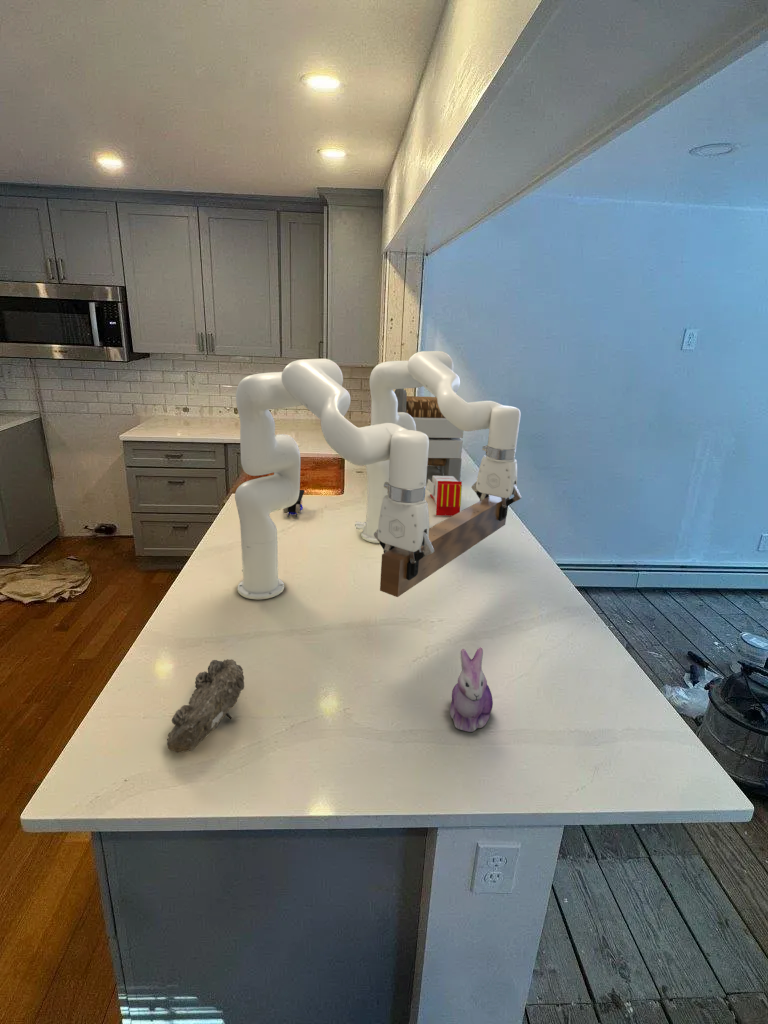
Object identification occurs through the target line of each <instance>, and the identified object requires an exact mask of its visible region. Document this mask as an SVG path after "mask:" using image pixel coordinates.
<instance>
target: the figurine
mask: <svg viewBox="0 0 768 1024" xmlns="http://www.w3.org/2000/svg"><path fill="white" fill-rule="evenodd" d="M459 655H460V666H461V667H460V668H461V671H460V673H459V675H458V678H457V682H456V684H455V685H454V686H453V688H452V690H451V703H450V707H449V715H450V716H449V717H450V718H451V719H452V721H453V724H454V727H455V728H456V729H457V730H461V731H464V732H470V733H471V732H472V733H473V732H475V731H476V730H477V729H481V728H482V729H483V728H484V727H485V726H486V724H487V723H488V721H489V719H490V716H491V714H492V713H491V712H492V710H493V705H494V704H493V703H494V702H493V701H494V700H493V695H492V691H491V688H490V686H489V685H488V680H487V677H486V675H485V673H484V670H483V665H482V664H483V659H484V648H483V647H478V648H477V649H476V651H475V654H474V655H473V657H472V658H471V657H470V655H469V653H468V651H467V650H466V649H465V648H461V649H460V653H459Z"/></svg>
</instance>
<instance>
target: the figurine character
mask: <svg viewBox="0 0 768 1024" xmlns="http://www.w3.org/2000/svg"><path fill="white" fill-rule="evenodd" d="M304 493H305V489H300V492H299V497H298V500H297V502H296V503H295V504H294V505H292V506H290V507H287V508H284V509H282V512H283V514H287V516H286V517H287V518H290V516H291V515H293V516H294V518H297V517H298V515H299V514H300V513H301V511H302V510H303V509H304V506H303V497H304V495H305V494H304Z"/></svg>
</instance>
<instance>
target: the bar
mask: <svg viewBox="0 0 768 1024" xmlns="http://www.w3.org/2000/svg"><path fill="white" fill-rule="evenodd" d="M501 506H502V501H501V497H497V496H493V495H489V496H488V497H486V498H484V499H483V500H481V501H480V500H479V501H477V502H475V503H473V504H471V505H470V506H468V507H465V508H464V509H463V510H460V512H459V513H457V514H455V515H453V516H449V517H448V518H446V519H444V520H442V521H441V522H438V523H437V524H435V525H432V527H429V537H428V538H429V540H430V542H431V544H432V546H433V548H434V552H433V553H432V554H430V555H428V556H425V557H423V558H422V559H420V560H419V566H418V574H417V575H416V576H415V577H414V578H412V579H411V580H407V579H406V576H407V563H408V562H410V558H409V551H407V550H404V549H400V548H397V547H395V548H393V549H391V550H389V551H387V552H385V553H384V552H383V553H382V554H381V562H380V563H381V564H380V579H379V580H380V581H379V582H380V583H379V591H380V592H382V593H385V594H388V595H390V596H393V597H395V598H399V597H400V596H403V594H405V593H406V592H408V591H409V590H411V589H412V588H413V587H415V586H417V585H418V584H419V583H421V582H422V581H424V580H426V579H427V578H429V577H430V576H431V575H433V574H435V573H436V572H437V571H439V570H440V569H442V568H443V567H445V566H447V565H448V564H449V563H451V562H452V561H454V560H456V558H458V557H459V556H461V555H463V554H464V553H466V552H467V551H468V550H470V549H471V548H473V547H474V546H476V545H478V544H479V543H480V542H482V541H483V540H485V539H487V538H488V537H489V536H491V535H492V534H494V533H496V532H497V531H499V530H500V529H501V528H503V527H504V526H505V525H506V521H507V517H506V518H505V519H503V520H502V521H499V520H498V518H499V510H500V507H501ZM423 550H424V547H423V546H421V551H423Z"/></svg>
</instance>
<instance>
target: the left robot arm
mask: <svg viewBox="0 0 768 1024" xmlns="http://www.w3.org/2000/svg"><path fill="white" fill-rule="evenodd" d="M343 383H344V375H343V372H342V369H341V368H340V366H339V365H338V364H337V362H335V361H333V360H331V359H329V358H308V359H306V358H305V359H296V360H293V361H291V362H290V363H288V364H287V365H286V366H285V367H284V369H282V371H279V372H278V371H272V372H270V371H269V372H259V373H254V374H249V375H247V376H245V377H244V378H242V379H241V380H240V381H239V382H238V385H237V387H236V391H235V404H236V407H237V412H238V418H239V424H240V425H239V435H240V436H239V440H240V441H239V443H240V446H239V447H240V464H241V468H242V470H243V472H244V473H245V474H247V475H249V476H252V477H258V476H262V477H258V478H253V479H249V480H246V481H245V482H243V483H241V484H240V485H239V486H238V487H237V488H236V489H235V492H234V501H235V504H236V510H237V514H238V518H239V526H240V527H239V529H240V543H241V545H240V546H241V565H242V567H241V568H242V569H241V572H242V580H241V581H240V582H238V584H237V592H238V594H239V595H240V596H241V597H243V598H246V599H249V600H267V599H271V598H274V597H277V596H279V595H281V593H283V591H284V589H285V583H284V581H283V579H281V578H279V548H278V547H279V545H278V528H277V526H276V524H275V522H274V521H273V519H272V518H271V516H270V514H271V513H275V512H276V511H277V512H278V511H281V510H283V509H284V508H287V507H290V506H292V505H294V504H295V503H296V502H297V500H298V497H299V492H300V490H301V458H302V457H301V450H300V448H299V445H298V443H297V441H296V440H295V439H294V437H293V436H291V435H289V434H285V433H280V434H279V433H277V434H276V422H275V418H274V416H273V414H272V412H271V411H270V410H275V409H276V410H277V409H286V408H294V407H300V406H303V407H305V408H306V409H307V410H308V411H309V412H311V413H312V414H313V415H314V416H315V417H316V418H318V419H319V420H320V428H321V433H322V435H323V438H324V440H325V442H326V443H327V445H328V446H329V447H330V448H331V450H333V451H334V452H335V453H336V454H337V455H339V456H340V457H341V458H343V459H344V460H345V461H347V462H349V463H350V464H352V465H355V466H359V467H361V466H362V467H363V466H365V465H369V464H373V463H377V462H381V461H387V460H390V465H389V482H385V483H384V488H387V489H388V495H386V496H384V499H383V503H382V506H381V511H380V516H379V524H378V529H377V531H376V532H375V533H374V537H375V538H376V539H377V540H378V541H379V543H378V544H379V545H380V547H381V548H382V550H383V554H384V553H385V552H387V551H389V550H391V549H393V548H395V547H397V548H400V549H404V550H407V551H409V558H410V562H408V563H407V576H406V579H407V580H411V579H412V578H414V577H415V576H416V575H417V574H418V566H419V560H420V559H422V558H423V557H425V556H428V555H430V554H432V553H433V552H434V548H433V546H432V544H431V542H430V540H429V538H428V537H429V528H430V515H429V514H430V513H429V505H428V501H427V500H426V490H427V476H428V466H427V464H428V452H429V438H428V436H427V435H426V434H425V433H422V432H419V431H413V430H407V429H405V428H403V427H401V426H399V425H396V424H393V423H383V424H377V425H371V424H370V425H365V426H361V427H358V426H356V425H355V424H354V423H352V422H351V421H350V420H348V418H346V417H345V415H346V414H347V413H348V411H349V409H350V406H351V400H352V399H351V395H350V392H349V391H348V390H347V389H346V388H345V387H344V386H343ZM269 474H271V475H269ZM265 475H267V476H265ZM421 546H423V547H424V550H423V551H421Z"/></svg>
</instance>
